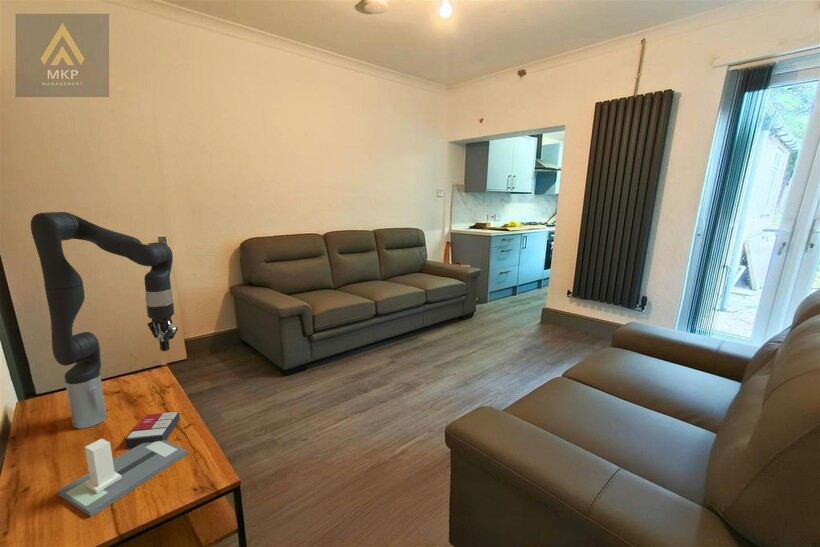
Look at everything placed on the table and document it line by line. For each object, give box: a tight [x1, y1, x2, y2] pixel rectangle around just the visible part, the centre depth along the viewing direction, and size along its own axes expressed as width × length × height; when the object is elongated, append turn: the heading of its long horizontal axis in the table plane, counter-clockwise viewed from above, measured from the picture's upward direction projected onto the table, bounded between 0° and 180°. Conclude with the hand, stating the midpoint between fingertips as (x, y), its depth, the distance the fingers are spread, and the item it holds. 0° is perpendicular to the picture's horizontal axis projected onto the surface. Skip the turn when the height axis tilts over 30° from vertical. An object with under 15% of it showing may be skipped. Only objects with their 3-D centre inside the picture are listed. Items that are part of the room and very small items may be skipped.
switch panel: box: [56, 440, 188, 518], centre depth 108 cm, size 16×26×2 cm, turn 156°
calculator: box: [124, 411, 181, 450], centre depth 126 cm, size 11×4×15 cm
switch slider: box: [84, 438, 122, 493], centre depth 101 cm, size 6×6×12 cm
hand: (165, 350), depth 125 cm, fingers closed
